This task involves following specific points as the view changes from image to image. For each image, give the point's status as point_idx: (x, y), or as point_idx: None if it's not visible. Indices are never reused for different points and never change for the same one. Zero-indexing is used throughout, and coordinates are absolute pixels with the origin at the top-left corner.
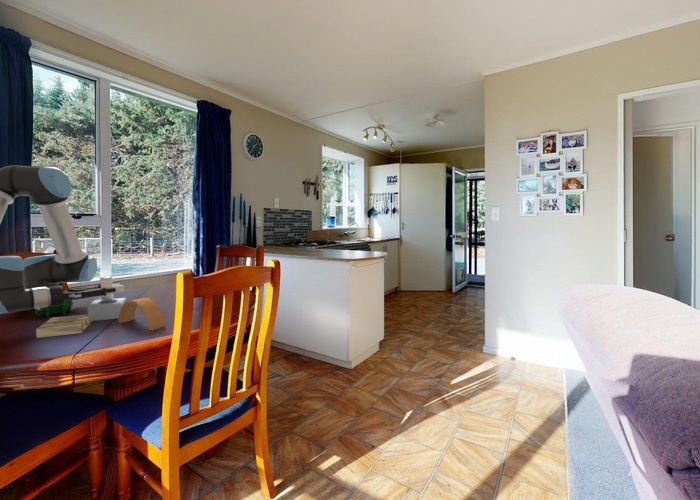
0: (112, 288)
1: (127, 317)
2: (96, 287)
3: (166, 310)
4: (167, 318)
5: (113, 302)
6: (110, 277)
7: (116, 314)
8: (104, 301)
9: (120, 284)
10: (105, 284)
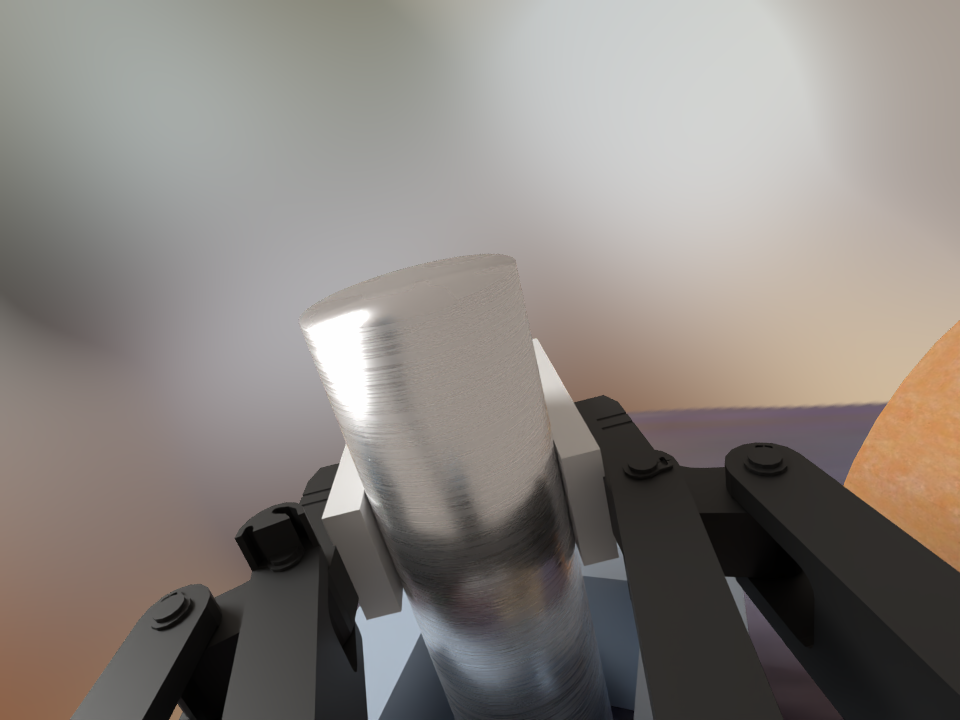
0: (607, 415)
1: None
2: (324, 609)
3: None
4: (865, 409)
5: None
6: (482, 256)
7: None
8: (590, 686)
9: None
10: (543, 404)
